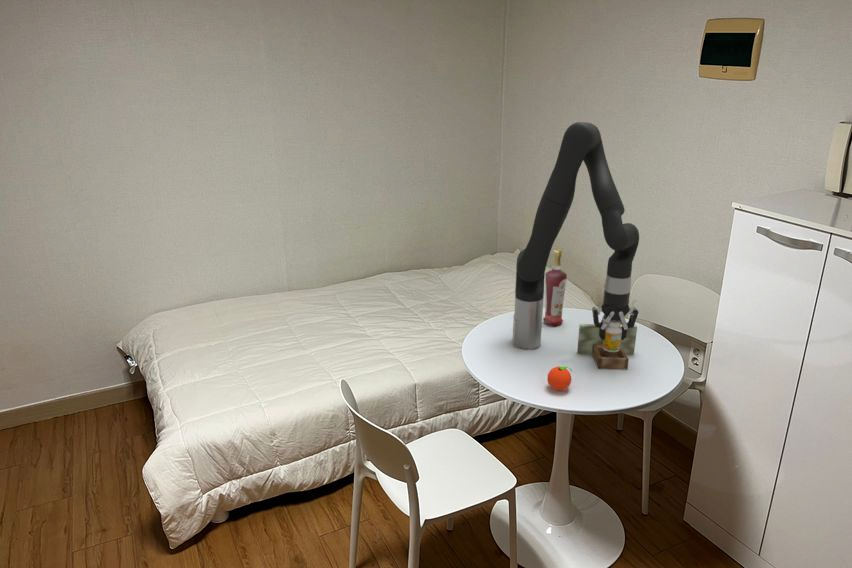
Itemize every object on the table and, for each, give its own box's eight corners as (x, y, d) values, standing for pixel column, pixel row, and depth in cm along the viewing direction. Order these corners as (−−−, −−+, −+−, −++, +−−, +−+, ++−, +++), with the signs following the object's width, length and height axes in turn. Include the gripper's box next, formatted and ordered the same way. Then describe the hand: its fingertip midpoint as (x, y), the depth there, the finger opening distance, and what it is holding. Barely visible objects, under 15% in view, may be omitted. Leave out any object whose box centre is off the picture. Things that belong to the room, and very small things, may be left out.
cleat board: (583, 368, 193) (586, 339, 189) (577, 351, 204) (579, 324, 200) (642, 369, 192) (645, 340, 188) (632, 352, 203) (636, 324, 199)
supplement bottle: (599, 345, 197) (602, 317, 194) (616, 344, 198) (619, 316, 194) (605, 353, 192) (608, 324, 189) (622, 352, 193) (625, 323, 189)
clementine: (563, 379, 187) (564, 358, 184) (578, 390, 181) (580, 368, 178) (541, 386, 183) (543, 365, 181) (556, 397, 177) (558, 375, 175)
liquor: (554, 329, 220) (559, 254, 210) (538, 322, 225) (542, 249, 215) (567, 323, 224) (573, 250, 214) (551, 317, 229) (556, 245, 219)
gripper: (595, 293, 185) (591, 344, 191) (644, 293, 184) (638, 344, 190) (591, 284, 192) (586, 333, 198) (638, 284, 191) (632, 333, 197)
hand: (612, 338), depth 194 cm, fingers closed on supplement bottle, 5 cm apart
